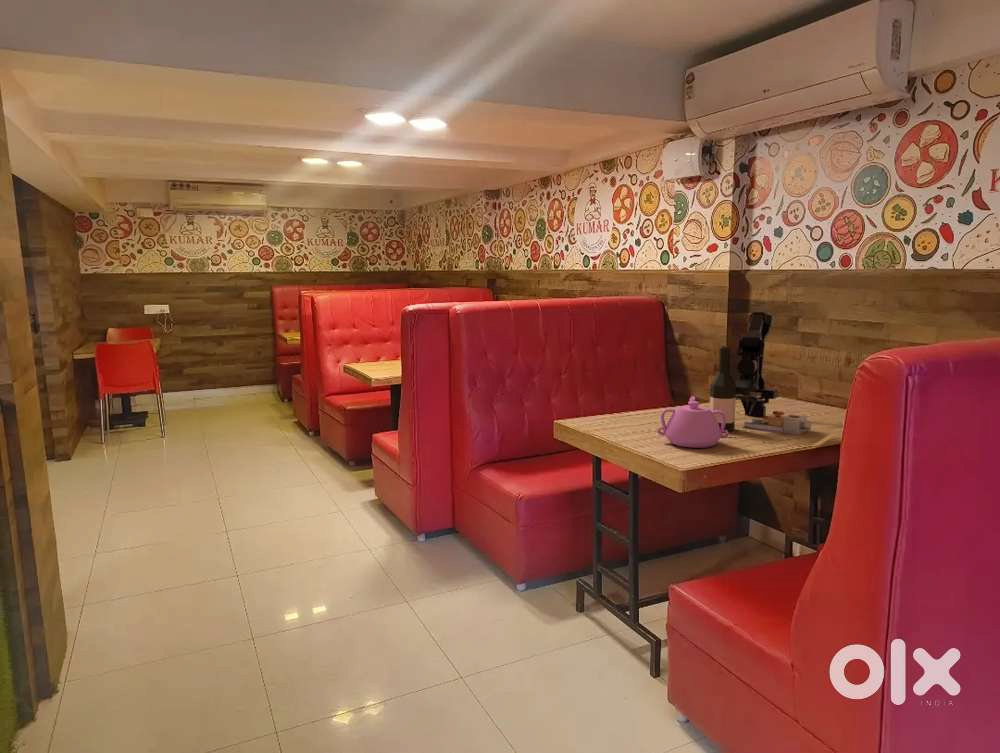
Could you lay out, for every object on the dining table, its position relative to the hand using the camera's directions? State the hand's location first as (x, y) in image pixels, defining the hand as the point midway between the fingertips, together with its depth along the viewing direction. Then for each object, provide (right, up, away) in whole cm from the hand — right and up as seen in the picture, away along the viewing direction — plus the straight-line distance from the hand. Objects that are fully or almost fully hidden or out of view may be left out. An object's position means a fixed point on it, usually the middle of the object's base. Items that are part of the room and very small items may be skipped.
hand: (747, 415), depth 238 cm
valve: (+8, -4, -6) cm, 11 cm away
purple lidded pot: (-25, -8, -19) cm, 33 cm away
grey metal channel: (+7, -5, -5) cm, 10 cm away
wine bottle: (-11, -6, -6) cm, 14 cm away
